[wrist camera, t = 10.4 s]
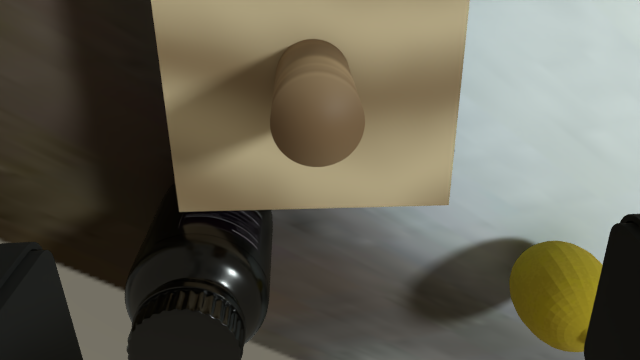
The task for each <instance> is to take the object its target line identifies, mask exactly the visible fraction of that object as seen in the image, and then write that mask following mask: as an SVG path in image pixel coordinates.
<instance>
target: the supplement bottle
mask: <svg viewBox="0 0 640 360" xmlns="http://www.w3.org/2000/svg"><path fill="white" fill-rule="evenodd" d="M272 228H273V221H272V213H271V210H234V211H195V212H179V207H178V199H177V192H176V184H173V185H172V186H171V187H170V189H169V190H168V191H167V193H166V194H165V196H164V197H163V199H162V201H161V203H160V205H159V207H158V210H157V212H156V214H155V216H154V219H153V221H152V223H151V225H150V228H149V230H148V232H147V234H146V237H145V239H144V241H143V243H142V245H141V248H140V250H139V252H138V254H137V257H136V259H135V261H134V263H133V266H132V268H131V270H130V273H129V276H128V279H127V282H126V287H125V304H126V309H127V312H128V315H129V317H130V319H131V322H132V329H131V332H130V334H129V337H128V346H127V352H128V354H129V355H128V360H241V358H242V354H243V346H244V344H245V343H247V342H248V341H249V340H250V339H251V338H252V337H253V336H254V335H255V334H256V332H257V331H258V330H259V328H260V327H261V325H262V323H263V321H264V319H265V317H266V313H267V309H268V304H269V292H270V272H271V252H272V231H273V229H272Z"/></svg>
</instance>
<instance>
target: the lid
mask: <svg viewBox="0 0 640 360" xmlns="http://www.w3.org/2000/svg"><path fill="white" fill-rule="evenodd" d="M469 1H470V0H151V5H152V12H153V20H154V27H155V35H156V42H157V50H158V57H159V65H160V72H161V79H162V87H163V94H164V102H165V109H166V117H167V124H168V132H169V139H170V147H171V154H172V162H173V169H174V177H175V184H176V192H177V199H178V207H179V212H195V211H234V210H274V209H313V208H353V207H392V206H432V205H449V196H450V186H451V176H452V166H453V157H454V147H455V137H456V127H457V118H458V108H459V98H460V89H461V79H462V69H463V59H464V50H465V40H466V30H467V21H468V11H469Z"/></svg>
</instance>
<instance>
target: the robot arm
mask: <svg viewBox="0 0 640 360" xmlns="http://www.w3.org/2000/svg"><path fill="white" fill-rule="evenodd" d="M584 356H585V360H640V214H628V215H626V216H624V217H623V219H622V220H621V222H620V223H617V224H615V225H614V226H613V227H612V229H611V232H610V235H609V240H608V244H607V248H606V253H605V257H604V261H603V266H602V270H601V274H600V279H599V283H598V287H597V292H596V296H595V300H594V305H593V309H592V313H591V318H590V322H589V326H588V331H587V335H586V339H585V344H584ZM0 360H83V358H82V355H81V351H80V347H79V344H78V340H77V337H76V333H75V330H74V327H73V323H72V319H71V316H70V312H69V309H68V305H67V302H66V298H65V295H64V291H63V288H62V285H61V281H60V277H59V274H58V271H57V267H56V264H55V260H54V257H53V255H52V253H51V252H50V251H48V250H42V247H41V246H40V245H39V244H38V243H36V242H23V243H2V244H0Z"/></svg>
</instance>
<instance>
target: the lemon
mask: <svg viewBox="0 0 640 360" xmlns="http://www.w3.org/2000/svg"><path fill="white" fill-rule="evenodd" d="M602 266H603V265H602V264H601V263H600V262H599V261H598V260H597V259H596V258H595V257H594V256H593V255H592V254H591V253H589V252H588V251H586V250H584V249H582V248H580V247H578V246H576V245H574V244H571V243H567V242H562V241H547V242H542V243H538V244H536V245H534V246H532V247H530V248H528V249H527V250H526V251H524V252H523V253H522V254H521V255H520V256H519V257H518V259H517V260H516V262H515V264H514V265H513V267H512V271H511V275H510V280H509V285H510V295H511V299H512V302H513V304H514V307H515V309H516V311H517V313H518V315H519V317H520V318H521V320H522V321H523V322H524V324H525V325H526V326H527V327H528V328H529V329H530V330H531V331H532V333H533V334H534V335H536V336H537V337H538V338H539V339H540V340H542V341H543V342H545V343H547V344H548V345H550V346H552V347H554V348H556V349H560V350H563V351H569V352H582V351H584V344H585V339H586V335H587V331H588V326H589V322H590V318H591V313H592V309H593V305H594V300H595V296H596V292H597V287H598V283H599V279H600V274H601V270H602Z"/></svg>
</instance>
